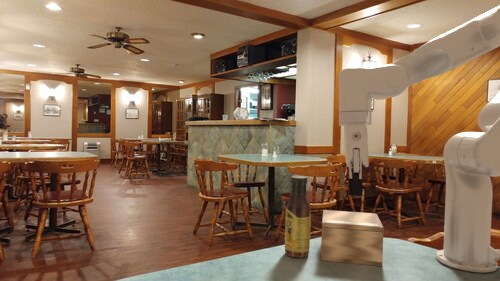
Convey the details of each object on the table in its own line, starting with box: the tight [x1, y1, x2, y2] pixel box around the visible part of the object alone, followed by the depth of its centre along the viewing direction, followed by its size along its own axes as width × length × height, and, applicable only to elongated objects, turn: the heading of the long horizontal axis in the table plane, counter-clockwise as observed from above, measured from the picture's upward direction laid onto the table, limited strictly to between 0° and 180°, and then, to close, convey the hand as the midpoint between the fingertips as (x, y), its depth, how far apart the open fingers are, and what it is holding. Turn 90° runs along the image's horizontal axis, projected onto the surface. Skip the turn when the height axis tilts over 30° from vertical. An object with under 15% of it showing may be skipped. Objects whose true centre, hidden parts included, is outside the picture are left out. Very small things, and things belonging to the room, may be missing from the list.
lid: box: [321, 209, 384, 233], centre depth 90 cm, size 14×14×1 cm
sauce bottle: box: [284, 175, 312, 259], centre depth 89 cm, size 6×6×20 cm
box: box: [320, 226, 384, 267], centre depth 91 cm, size 14×14×8 cm
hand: (355, 194), depth 86 cm, fingers closed
